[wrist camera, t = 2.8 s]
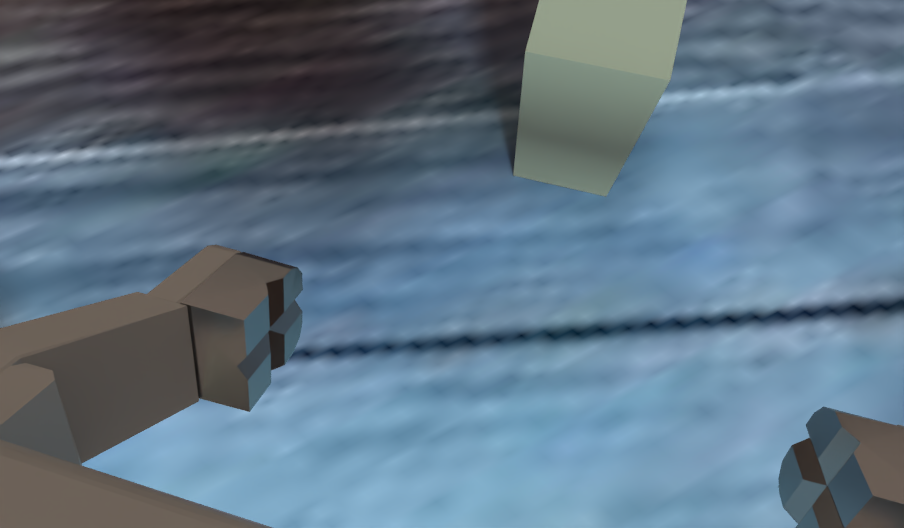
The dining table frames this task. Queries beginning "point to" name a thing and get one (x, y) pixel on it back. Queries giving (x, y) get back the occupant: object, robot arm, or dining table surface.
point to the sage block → (592, 87)
